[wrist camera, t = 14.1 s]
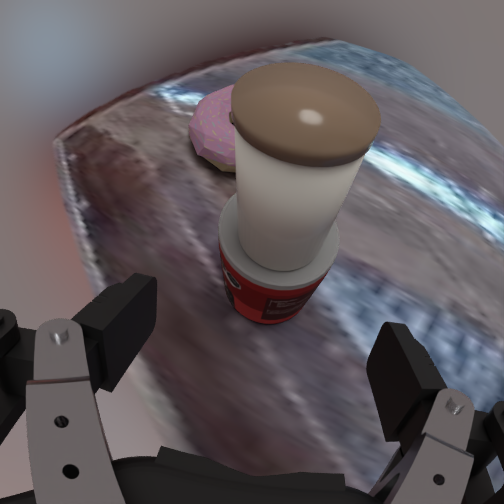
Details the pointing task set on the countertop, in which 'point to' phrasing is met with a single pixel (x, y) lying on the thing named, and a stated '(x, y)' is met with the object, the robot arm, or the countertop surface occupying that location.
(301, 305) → the canned food
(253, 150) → the brown-lidded white canister
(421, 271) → the countertop surface
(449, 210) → the countertop surface
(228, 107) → the donut
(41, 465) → the robot arm
